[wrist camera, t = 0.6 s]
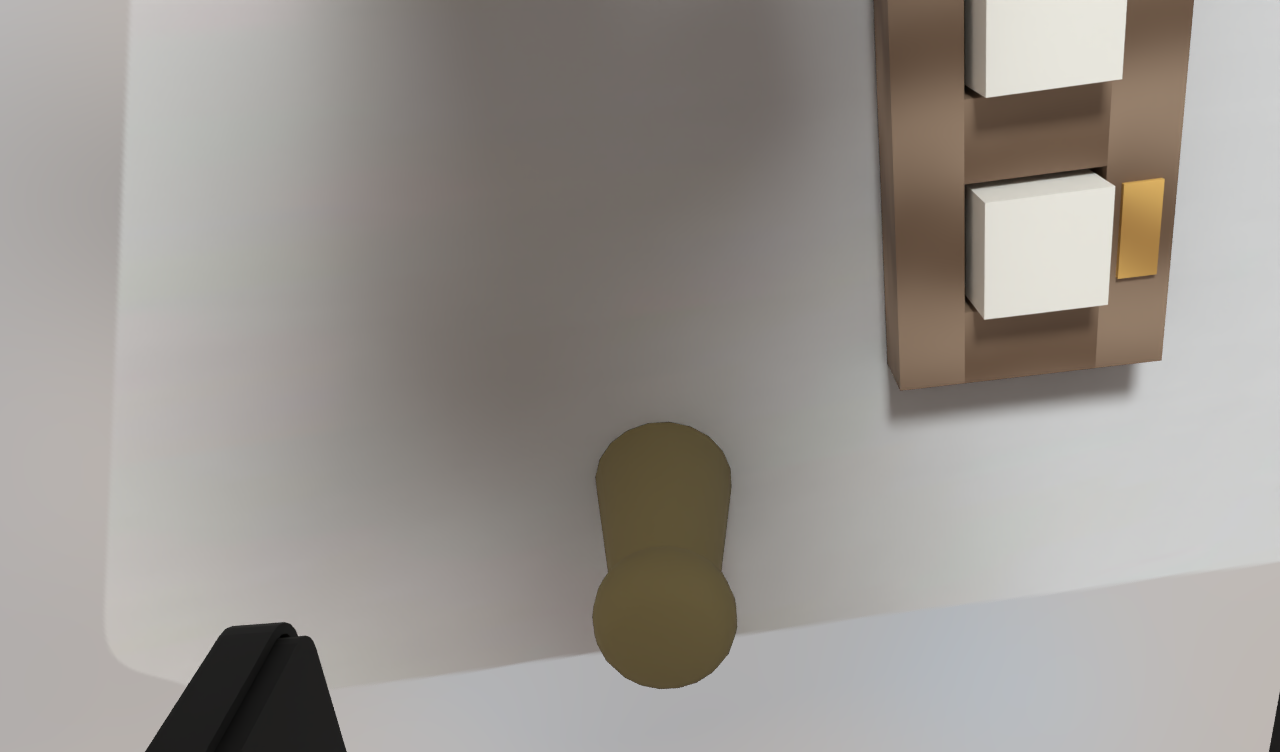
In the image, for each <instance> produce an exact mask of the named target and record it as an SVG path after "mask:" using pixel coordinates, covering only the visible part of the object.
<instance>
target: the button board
mask: <svg viewBox="0 0 1280 752" xmlns="http://www.w3.org/2000/svg"><path fill="white" fill-rule="evenodd" d="M873 1H874V27H875V53H876V79H877V105H878V131H879V157H880V182H881V208H882V234H883V260H884V286H885V312H886V338H887V364H888V366H889V368H890V370H891V372H892V374H893V376H894V378H895V380H896V382H897V385H898V387H899V389H900V391H903V390H911V389H920V388H928V387H937V386H945V385H954V384H963V383H971V382H980V381H988V380H997V379H1006V378H1014V377H1023V376H1031V375H1040V374H1048V373H1057V372H1066V371H1074V370H1083V369H1091V368H1100V367H1109V366H1117V365H1126V364H1134V363H1143V362H1151V361H1160V360H1162V349H1163V337H1164V326H1165V315H1166V304H1167V293H1168V282H1169V271H1170V260H1171V249H1172V238H1173V227H1174V215H1175V204H1176V193H1177V182H1178V171H1179V160H1180V149H1181V138H1182V127H1183V116H1184V105H1185V93H1186V82H1187V71H1188V60H1189V49H1190V38H1191V27H1192V16H1193V5H1194V0H1127V11H1126V27H1125V42H1124V58H1123V74H1122V79H1120V80H1113V81H1105V82H1098V83H1091V84H1083V85H1076V86H1069V87H1062V88H1054V89H1047V90H1040V91H1032V92H1025V93H1018V94H1011V95H1003V96H996V97H989V98H985V97H984V96H982V95H980V94H979V93H977V92H976V91H974V90H972V89H971V88H969V87H968V86H966V85H964V0H873ZM1086 168H1088V169H1089V170H1091V171H1092V172H1094V173H1096V174H1097V175H1099V176H1100V177H1102V178H1103V179H1105V180H1106V181H1108V182H1110V183H1111V184H1113V185H1114V186H1115V200H1114V216H1113V232H1112V248H1111V263H1110V279H1109V295H1108V305H1102V306H1094V307H1085V308H1077V309H1069V310H1060V311H1052V312H1044V313H1036V314H1027V315H1019V316H1011V317H1003V318H994V319H986V320H984V319H983V317H982V316H981V315H980V313H979V312H978V311H977V310H976V308H975V307H974V306H973V304H972V303H971V302H970V300H969V299H968V298H967V296H966V295H965V234H964V184H972V183H980V182H987V181H995V180H1002V179H1010V178H1018V177H1025V176H1033V175H1041V174H1048V173H1056V172H1064V171H1071V170H1079V169H1086Z"/></svg>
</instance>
